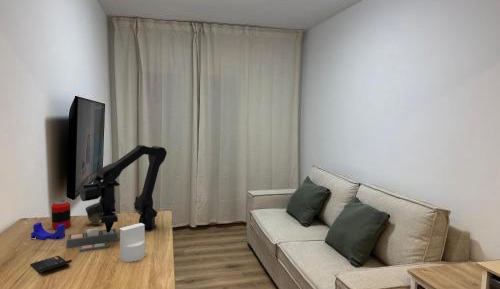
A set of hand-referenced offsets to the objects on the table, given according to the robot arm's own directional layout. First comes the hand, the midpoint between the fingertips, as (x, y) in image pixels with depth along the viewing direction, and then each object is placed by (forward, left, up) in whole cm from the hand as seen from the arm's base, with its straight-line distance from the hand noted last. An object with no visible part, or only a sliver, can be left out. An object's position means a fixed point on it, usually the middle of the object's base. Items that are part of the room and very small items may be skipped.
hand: (108, 232), depth 143 cm
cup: (+17, -13, -3) cm, 21 cm away
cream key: (+5, +4, -1) cm, 6 cm away
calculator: (+4, +27, -4) cm, 27 cm away
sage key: (0, 0, -2) cm, 2 cm away
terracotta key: (+9, +8, -2) cm, 12 cm away
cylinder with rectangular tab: (-19, +12, -3) cm, 23 cm away
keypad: (+5, +4, -3) cm, 7 cm away
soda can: (+29, -5, -3) cm, 29 cm away
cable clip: (+24, +7, -3) cm, 25 cm away
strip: (0, +10, -3) cm, 10 cm away
